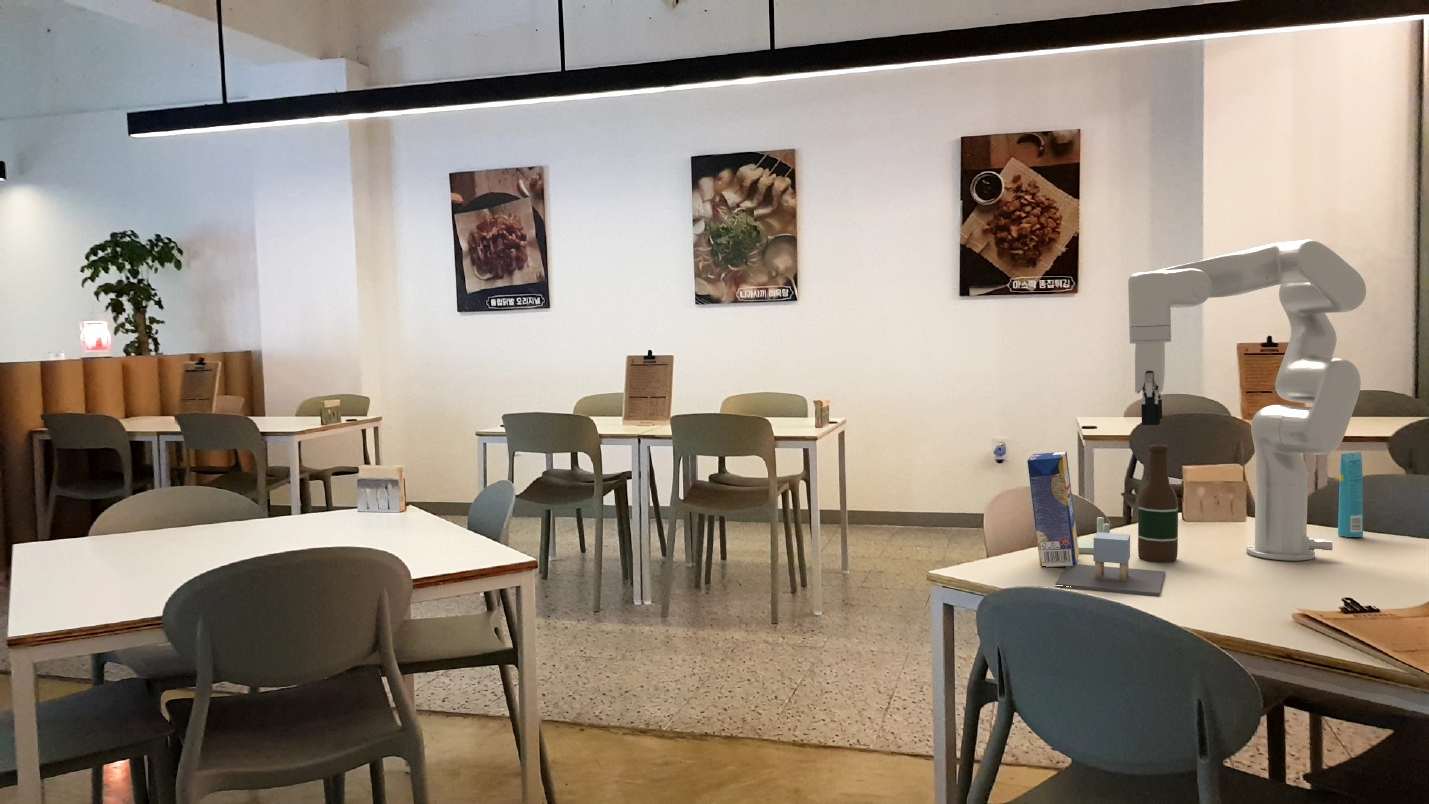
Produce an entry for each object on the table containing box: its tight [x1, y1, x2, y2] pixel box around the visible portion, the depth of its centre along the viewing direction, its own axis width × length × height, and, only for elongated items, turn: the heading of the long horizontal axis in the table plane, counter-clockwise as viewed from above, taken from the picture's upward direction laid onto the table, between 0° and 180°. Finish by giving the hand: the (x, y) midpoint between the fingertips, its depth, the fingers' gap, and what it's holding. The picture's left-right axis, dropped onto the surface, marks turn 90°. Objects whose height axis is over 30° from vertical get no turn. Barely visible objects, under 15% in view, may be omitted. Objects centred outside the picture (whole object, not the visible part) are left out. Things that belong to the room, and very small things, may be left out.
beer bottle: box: [1137, 443, 1179, 564], centre depth 211 cm, size 8×8×24 cm
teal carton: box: [1337, 451, 1364, 538], centre depth 230 cm, size 7×5×19 cm, turn 124°
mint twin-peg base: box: [1077, 516, 1111, 554], centre depth 223 cm, size 10×10×6 cm
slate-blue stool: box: [1093, 531, 1131, 582], centre depth 195 cm, size 6×6×8 cm
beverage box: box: [1027, 450, 1080, 568], centre depth 210 cm, size 7×11×22 cm, turn 157°
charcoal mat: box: [1054, 563, 1166, 597], centre depth 195 cm, size 18×18×1 cm
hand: (1152, 422), depth 200 cm, fingers open, 9 cm apart
